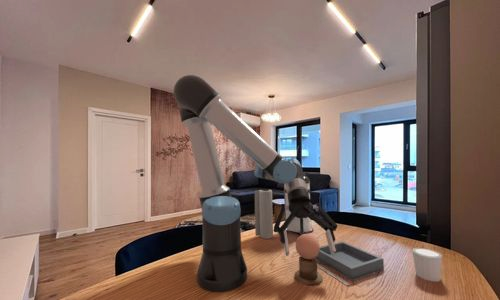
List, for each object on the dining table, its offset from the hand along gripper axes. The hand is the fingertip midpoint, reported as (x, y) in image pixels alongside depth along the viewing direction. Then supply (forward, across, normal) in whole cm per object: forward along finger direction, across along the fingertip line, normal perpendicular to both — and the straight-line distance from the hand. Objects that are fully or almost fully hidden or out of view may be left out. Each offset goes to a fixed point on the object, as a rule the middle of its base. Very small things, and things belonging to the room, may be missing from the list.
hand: (310, 253), depth 63 cm
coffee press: (-24, -6, -36) cm, 44 cm away
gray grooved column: (-20, +11, -31) cm, 38 cm away
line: (+1, -5, -10) cm, 11 cm away
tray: (-1, -14, -12) cm, 19 cm away
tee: (+5, +1, -6) cm, 8 cm away
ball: (0, +1, -2) cm, 2 cm away
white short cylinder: (+5, -35, -6) cm, 36 cm away
